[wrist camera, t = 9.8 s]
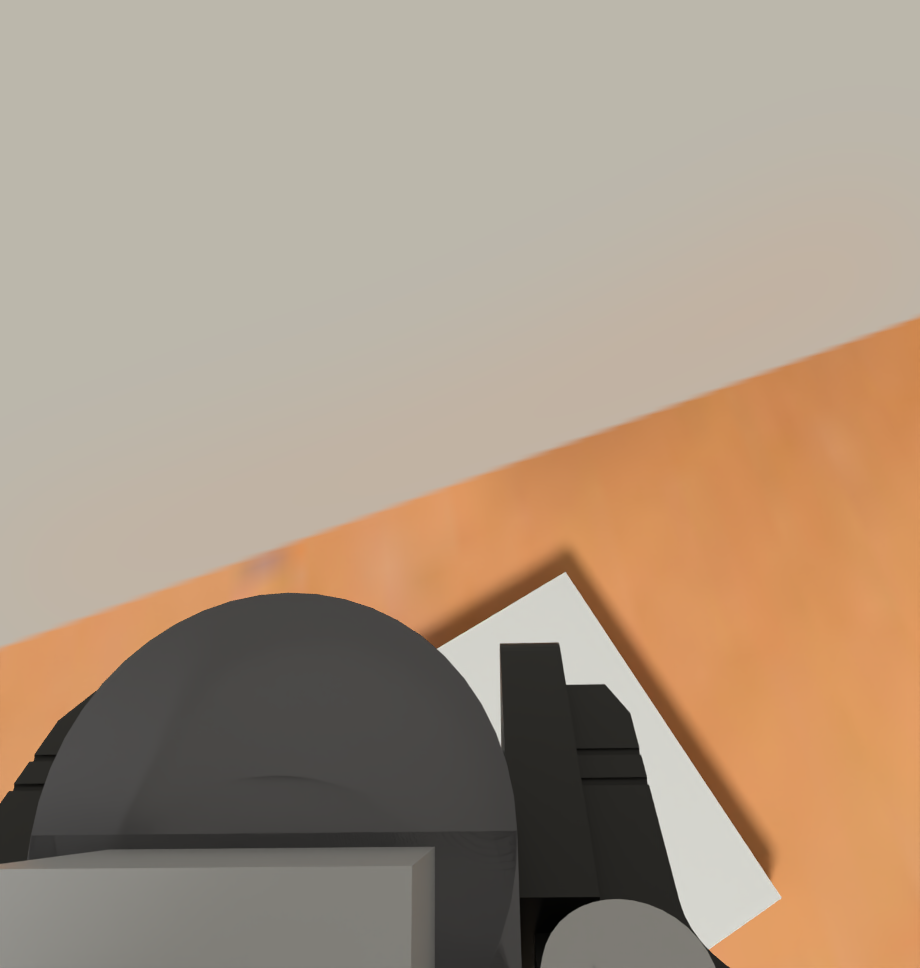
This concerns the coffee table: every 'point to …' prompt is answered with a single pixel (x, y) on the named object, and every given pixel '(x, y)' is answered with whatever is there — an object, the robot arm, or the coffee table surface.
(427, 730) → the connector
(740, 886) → the dock plate
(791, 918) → the coffee table surface
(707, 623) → the coffee table surface
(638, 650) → the coffee table surface
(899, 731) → the coffee table surface
